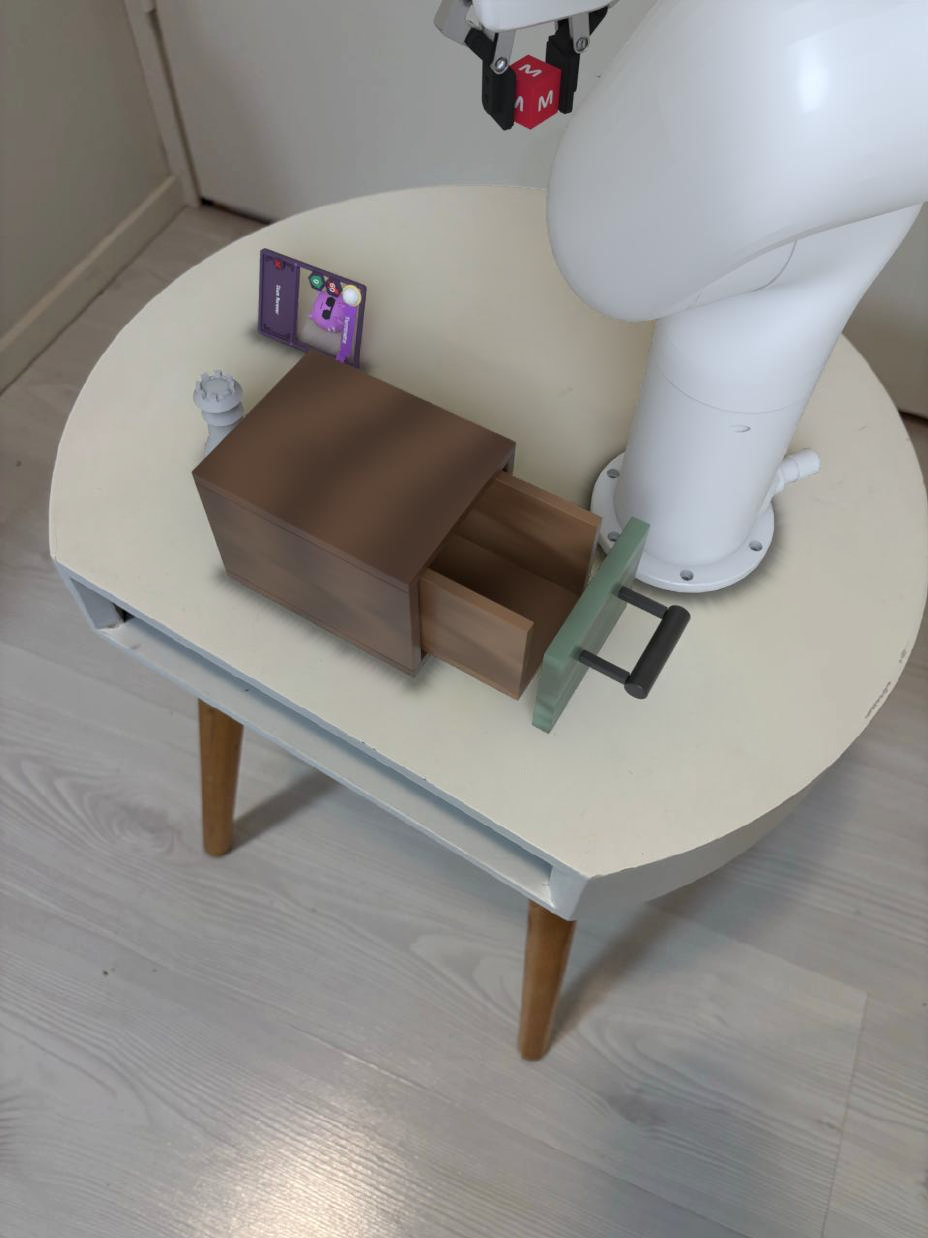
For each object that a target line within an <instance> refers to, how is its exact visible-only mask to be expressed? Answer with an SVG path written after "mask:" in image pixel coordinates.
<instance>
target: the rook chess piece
mask: <svg viewBox="0 0 928 1238" xmlns="http://www.w3.org/2000/svg"><path fill="white" fill-rule="evenodd" d="M213 374H214V375H210V374H208V371H205V372H204V373H201V375H200V379H201V381H200V380H196V381H195V387H194V390H193V395H192V400H193V402H194V406H196V407H197V408H198V409H200V410H201V413H200V415H201V417H202V419H203V420H204V421H205V422H206V423H207V430H208V436H207V438H206V441H205V443H204V449H203V459H204V458H205V457H206V456H207V455H208V454H209V453H210V452H211V451H212V450H213V449H214V448H215V447H216V446H217V445H218V444H219V443H220V442H221V441H222V440H223V439H224V438H225V437H226V436H227V435H228V434H229V433H230V432H231V431H232V429H233V428H234V427H235V426H236V425H237V424H238V423H239V422H240V421H241V420H242V419H243V418H244V415H243V414H244V408H245V407H244V404H243V402H242V401H241V400H242V399H243V394H244V390H243V388H242V385H241V384H240V383H239V381H237V380H236V379H235V378H234V377H233V375H232V374H231V373H229V372H226V373H225V374H224V375H223V371H222V369H213Z"/></svg>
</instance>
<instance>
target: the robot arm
mask: <svg viewBox="0 0 928 1238" xmlns="http://www.w3.org/2000/svg"><path fill="white" fill-rule="evenodd" d="M619 1H620V0H442V1H441V3H440V5H439V7H438V9H437V11H436V13H435V15H434V18H433V25H434V27H435V28H436V29H437V30H438V31H439V32H440V33H441V34H442V35H443V37H446V38H447V39H450V40H451V41H453V42H455V43H456V44H459V45H460V46H464V47H466V48H468V49H469V50H470V51H471V52H472V53H473V54H474V55H475V56H477V57H478V59H480V60H481V66H482V67H481V105H482V108H483V110H484V111H485V113H486V114H487V115H488V116H490V117H491V118H492V120H494V122H495V123H496V124H497V125H498V126H499V127H500V129H501V130H502V131H504V132H505V131H508V130H512V128H513V127H514V125H515V122H514V113H515V92H516V73H515V71H514V70H513V69H512V68H511V67H510V63H511V57H512V53H513V47H514V42H515V37H516V32H517V31H519V30H520V31H521V30H524V29H528V28H532V27H537V26H541V25H544V24H549V23H553V25H554V34H551V35H548V37H547V41H546V45H545V46H546V47H545V58H544V62H546V63H548V64H550V65H552V66H554V67H556V68H559V69H561V79H560V91H559V103H558V112H559V113H560V114H563V115H567V114H568V115H569V114H571V113H572V112H573V114H572V115H571V117H570V119H569V121H568V123H567V124H566V125H565V128H564V130H563V131H562V134H561V136H560V138H559V140H558V143H557V146H556V149H555V150H554V155H553V158H552V161H551V165H550V166H551V167H550V169H549V175H548V181H547V187H546V195H545V196H546V199H545V218H546V219H545V220H546V229H547V236H548V242H549V247H550V249H551V253H552V256H553V259H554V262H555V265H556V266H557V269H558V271H559V273H560V274H561V276H562V278H563V280H564V282H565V283H566V284H567V286H568V287H569V289H571V291H572V292H573V293H574V295H575V296H576V297H577V298H578V299H579V300H580V301H581V302H583V303H584V304H585V305H586V306H587V307H589V308H590V309H592V310H593V311H594V312H596V313H598V314H599V315H602V316H603V317H606V318H609V319H612V320H615V321H620V322H626V323H627V322H628V323H641V322H642V323H643V322H649V321H654V320H655V325H654V329H653V332H652V336H651V339H650V340H651V341H650V345H649V348H648V353H647V357H646V361H645V365H644V370H643V374H642V378H641V382H640V386H639V391H638V395H637V399H636V404H635V407H634V413H633V416H632V420H631V425H630V429H629V432H628V433H629V434H628V438H627V441H626V446H625V450H624V451H623V452H621V453H619V455H617V456H616V457H615V458H613V459H611V461H609V462H608V464H607V465H606V466H605V467H604V468H603V469H602V471H601V472H600V473H599V475H598V477H597V479H596V481H595V483H594V485H593V486H594V487H593V489H592V492H591V493H592V494H591V498H590V505H589V511H590V512H592V513H594V514H596V515H598V516H600V517H602V518H603V520H602V524H601V529H600V533H599V537H598V542H597V543H598V544H599V545H600V547H601V549H602V550H603V552H604V553H605V554H606V555H607V554H608V553H609V551H610V550H611V548H612V547H613V545H614V543H615V542H616V540H617V539H618V537H619V536H620V534H621V532H622V531H623V529H624V528H625V526H626V525H627V523H628V521H629V520H630V518H631V517H632V516H633V517H635V518H637V519H640V520H642V521H644V522H646V523H648V524H650V529H649V532H648V535H647V539H646V542H645V545H644V549H643V552H642V555H641V559H640V562H639V565H638V569H637V572H636V576H635V579H637V580H639V582H640V581H641V582H642V583H644V584H646V585H650V586H652V587H656V588H657V589H661V590H666V591H672V592H676V593H693V594H694V593H695V594H697V593H707V592H714V591H717V590H720V589H724V588H727V587H731V586H732V585H734V584H736V583H737V582H739V581H741V580H743V579H746V578H747V577H748V575H749V574H751V573H752V572H753V571H754V570H756V569H757V567H759V565H760V563H761V562H762V560H763V559H764V557H765V556H766V554H767V552H768V550H769V548H770V546H771V544H772V540H773V537H774V533H775V512H774V509H773V504H772V499H773V497H774V496H776V495H779V494H781V493H782V492H783V490H785V486H786V485H788V484H791V483H796V482H798V481H801V480H804V479H805V478H808V477H811V476H813V475H815V474H818V473H819V472H820V470H821V461H820V457H819V455H818V454H817V452H816V451H815V450H814V449H813V448H811V447H805V448H802V449H799V450H797V451H794V452H792V453H789V454H787V455H786V453H787V451H788V449H789V446H790V444H791V442H792V440H793V438H794V436H795V433H796V431H797V429H798V427H799V424H800V422H801V420H802V418H803V416H804V413H805V411H806V409H807V407H808V404H809V403H810V400H811V398H812V396H813V393H814V391H815V389H816V386H817V385H818V383H819V381H820V379H821V377H822V375H823V373H824V370H825V368H826V366H827V364H828V362H829V360H830V357H831V355H832V353H833V351H834V349H835V347H836V344H837V342H838V341H839V339H840V336H841V335H842V333H843V330H844V329H845V327H846V325H847V323H848V321H849V319H850V318H851V316H852V315H853V313H854V311H855V309H856V308H857V306H858V305H859V303H860V301H861V299H862V298H863V297H864V295H865V294H866V292H867V291H868V290H869V289H870V287H871V285H872V284H873V283H874V282H875V280H876V279H877V277H878V276H879V275H880V273H881V272H882V270H883V269H884V268H885V266H886V265H887V264H888V263H889V261H890V259H891V258H892V257H893V255H894V254H895V253H896V251H897V250H898V248H899V247H900V245H901V244H902V242H903V241H904V239H905V238H906V236H907V235H908V233H909V231H910V229H911V228H912V226H913V225H914V223H915V222H916V219H917V218H918V216H919V213H920V211H922V210H921V209H922V208H923V205H924V203H926V202H928V0H656V2H655V3H654V4H653V5H652V7H651V8H650V9H649V11H648V12H647V14H646V15H645V16H644V17H643V19H641V21H640V23H638V25H637V27H636V28H635V29H634V31H633V32H632V33H631V34H630V36H629V38H628V39H627V40H626V41H625V43H624V44H623V45H622V47H621V48H620V49H619V51H618V52H617V53H616V55H614V57H613V59H612V60H611V62H609V64H608V66H607V67H606V68H605V70H604V71H602V73H601V75H599V78H598V79H597V80H596V81H595V83H594V84H593V85H592V87H591V88H590V89H589V91H588V92H587V94H586V95H585V96H584V97H583V99H582V100H581V102H580V103H579V104H578V106H577V108H576V109H575V111H573V110H574V99H575V93H576V92H577V89H578V83H579V71H580V62H581V54H583V53H585V52H586V51H587V50H588V48H589V46H590V43H591V36H592V35H593V33H594V32H595V31H596V29H597V28H598V27H599V26H600V24H601V23H602V21H604V19H605V18H606V16H607V14H608V12H609V11H608V10H609V9H612V8H613V7H615V6H616V4H617V3H618V2H619ZM471 6H473V10H474V14H475V17H476V19H477V21H478V26H477V25H476V24H475V23H474V22H473V21H471V20H468V19H466V17H467V14H468V12H469V10H470V8H471Z"/></svg>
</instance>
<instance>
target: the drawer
mask: <svg viewBox="0 0 928 1238" xmlns="http://www.w3.org/2000/svg"><path fill="white" fill-rule="evenodd" d="M602 520H603V518H602V517H600V516H598V515H596V514H594V513H592V512H590V510H587V509H585V508H583V507H581V506H579V505H577V504H574V503H572V502H570V501H568V500H567V499H564V498H561V497H559V496H558V495H556V494H553V493H551V492H549V491H547V490H545V489H543V488H540V487H539V486H536V485H534V484H532V483H530V482H527V481H526V480H524V479H521V478H519V477H517V476H515V475H514V474H513V475H511V474H509V473H507V472H504V471H502V470H501V471H500V473H499V474H498V475H497V477H496V478H495V479H494V481H493V482H492V483H491V485H490V486H489V487H488V489H487V490H486V491H485V493H484V494H483V495H482V497H481V498H480V499H479V501H478V502H477V503H476V505H475V506H474V507H473V509H472V510H471V511H470V513H469V514H468V515H467V517H466V518H465V519H464V521H463V522H462V523H461V525H460V526H459V527H458V529H457V530H456V531H455V533H454V534H453V535H452V537H451V538H450V539H449V541H448V542H447V543H446V545H445V546H444V547H443V549H442V550H441V551H440V553H439V554H438V555H437V557H436V558H435V559H434V561H433V562H432V563H431V565H430V566H429V567H428V569H427V570H426V571H425V573H424V574H423V575H422V577H421V578H420V579H419V581H418V582H417V585H418V605H419V625H420V645H421V649H422V650H424V651H426V652H427V653H429V654H431V655H430V656H433V657H435V658H437V659H439V660H441V661H443V662H444V663H446V664H448V665H450V666H451V667H453V668H455V669H457V670H459V671H461V672H463V673H465V674H466V675H468V676H470V677H472V678H474V679H476V680H478V681H480V682H482V683H483V684H485V685H487V686H489V687H491V688H493V689H494V690H497V691H498V692H500V693H502V694H504V695H506V696H507V697H510V698H511V699H513V700H515V701H517V702H518V701H520V699H521V697H522V696H523V694H524V693H525V691H526V689H527V687H528V686H529V685H530V683H531V681H532V680H533V678H534V677H535V675H536V674H537V672H538V671H539V669H540V668H541V670H540V675H539V681H538V687H537V693H536V698H535V703H534V709H533V714H532V720H531V726H533V727H535V729H538V730H540V731H542V732H543V733H545V734H547V735H549V734H550V733H551V732H552V730H553V728H554V727H555V725H556V723H557V721H559V719H560V717H561V715H562V714H563V712H564V710H565V709H566V707H567V706H568V704H569V702H570V701H571V699H572V697H573V695H574V694H575V692H576V691H577V689H578V687H579V685H580V684H581V682H582V680H583V679H584V677H585V676H586V674H587V672H588V670H589V669H592V670H593V671H596V672H598V673H600V674H602V675H603V676H605V677H608V678H609V679H612V680H613V681H615V682H618V683H619V684H621V685H623V688H624V690H625V692H626V693H627V694H628V695H629V696H631V697H632V698H635V699H638V700H645V699H646V698H647V697H648V696H649V694H650V693H651V691H652V689H653V687H654V685H655V684H656V682H657V679H658V678H659V677H660V674H661V673H662V671H663V669H664V667H665V665H666V664H667V662H668V660H669V658H670V656H671V655H672V653H673V651H674V650H675V648H676V646H677V645H678V642H679V640H680V639H681V637H682V635H683V634H684V631H685V630H686V628H687V626H688V624H689V622H690V621H691V616H692V615H691V613H690V612H689V610H687V608H685V607H683V606H681V605H678V604H671V605H670V606H669V607H668V606H666V605H664V604H662V603H660V602H658V601H656V600H653V599H652V598H650V597H649V596H648V597H647V596H645V594H644V595H643V594H641V593H640V592H637V591H635V590H633V589H632V588H633V586H634V583H635V579H636V578H635V576H636V572H637V569H638V565H639V562H640V559H641V555H642V552H643V549H644V545H645V542H646V539H647V535H648V532H649V529H650V524H648V523H646V522H644V521H642V520H640V519H637V518H635V517H633V516H632V517H631V518H630V520H629V521H628V523H627V525H626V526H625V528H624V529H623V531H622V532H621V534H620V536H619V537H618V539H617V540H616V542H615V543H614V545H613V547H612V548H611V550H610V551H609V553H608V554H606V556H605V557H604V559H603V560H602V562H601V564H600V565H599V567H598V569H596V571H595V573H594V575H593V576H592V578H591V579H590V576H591V573H592V567H593V563H594V560H595V559H594V558H595V555H596V550H597V545H598V543H599V542H598V537H599V533H600V529H601V524H602ZM589 580H590V581H589ZM628 604H629V605H632V606H633V607H635V608H638V609H640V610H641V611H643V612H646V613H648V614H650V615H651V616H654V617H656V618H658V619H660V622H659V624H658V625H657V627H656V629H655V631H654V632H653V634H652V636H651V637H650V639H649V640H648V643H647V645H646V646H645V648H644V649H643V651H642V653H641V655H640V656H639V658H638V660H637V662H636V663H635V665H634V666H633V669H632V670H631V672H629V671H628V670H626V669H624V668H621V667H620V666H618V665H616V664H614V663H612V662H610V661H608V660H606V659H604V658H603V657H600V656H598V654H599V652H600V651H601V649H602V648H603V646H604V644H605V642H606V641H607V639H608V638H609V636H610V634H611V633H612V632H613V629H614V628H615V626H616V624H617V623H618V621H619V619H620V618H621V616H622V615H623V613H624V611H625V609H626V608H627V605H628Z"/></svg>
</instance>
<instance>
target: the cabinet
mask: <svg viewBox="0 0 928 1238" xmlns="http://www.w3.org/2000/svg"><path fill="white" fill-rule="evenodd" d="M516 447H517V442H516V441H515V440H512V439H511V438H508V437H506V436H504V435H502V434H499V433H498V432H495V431H494V430H491V429H488V428H487V427H484V426H482V425H480V424H478V423H476V422H473V421H471V420H469V419H467V418H465V417H463V416H460V415H458V414H456V413H454V412H452V411H450V410H447V409H445V408H443V407H441V406H438V405H436V404H435V403H432V402H430V401H427V400H426V399H423V398H421V397H419V396H416V395H414V394H412V393H411V392H408V391H406V390H404V389H402V388H399V387H397V386H396V385H393V384H391V383H389V382H386V381H384V380H382V379H381V378H377V377H375V376H373V375H371V374H369V373H366V372H365V371H362V370H360V369H359V368H358V369H356V368H354V367H352V366H349V365H347V364H345V363H343V362H341V361H338V360H336V359H334V358H332V357H330V356H328V355H325V354H323V353H321V352H319V351H317V350H314V349H312V348H311V349H310V350H309V351H308V352H306V353H305V354H304V355H303V356H302V357H301V358H300V359H299V360H298V361H297V362H296V363H295V364H294V365H293V366H292V367H291V368H290V369H289V371H287V372H286V374H284V375H283V376H282V377H281V378H280V380H279V381H278V382H276V384H275V385H274V386H273V387H272V388H271V389H270V390H269V391H268V392H267V393H266V394H265V395H264V396H263V397H262V398H261V399H260V400H259V401H258V402H257V403H256V404H255V406H253V408H252V409H251V410H250V411H248V413H247V414H246V415H245V416H243V419H242V420H241V421H240V422H239V423H238V424H237V425H236V426H235V427H234V428H233V429H232V431H231V432H230V433H229V434H228V435H227V436H226V437H225V438H224V439H223V440H222V441H221V442H220V443H219V444H218V445H217V446H216V447H215V448H214V449H213V450H212V451H211V452H210V453H209V454H208V455H207V456H206V457H205V458H204V457H203V459H202V460H201V461H200V462H199V463H198V464H197V465H196V467H195V468H194V469H192V471H190V472H191V475H192V479H193V481H194V484H195V487H196V490H197V493H198V496H199V499H200V501H201V505H202V507H203V510H204V512H205V516H206V518H207V521H208V524H209V527H210V530H211V532H212V535H213V538H214V541H215V544H216V547H217V550H218V553H219V556H220V558H221V561H222V564H223V566H224V569H225V572H226V575H227V577H229V578H230V579H232V580H234V581H236V582H238V583H240V584H241V585H244V587H247V588H249V589H251V590H252V591H254V592H256V593H258V594H260V595H262V596H263V597H265V598H267V599H269V600H271V601H273V602H275V603H277V604H278V605H280V606H281V607H284V608H286V609H287V610H289V611H291V612H293V613H295V614H296V615H298V616H300V617H301V618H304V619H305V620H307V621H309V622H311V623H312V624H315V625H316V626H318V627H320V628H321V629H324V630H326V631H327V632H329V633H331V634H333V635H335V636H336V637H338V638H340V639H342V640H344V641H345V642H347V643H349V644H350V645H353V646H354V647H356V648H359V649H360V650H362V651H364V652H366V653H367V654H369V655H371V656H373V657H375V658H376V659H379V660H380V661H382V662H384V663H386V664H387V665H389V666H391V667H393V668H395V669H396V670H398V671H400V672H402V673H404V674H405V675H407V676H409V677H411V678H413V679H415V678H416V677H417V676H418V674H419V672H420V671H421V670H422V668H423V667H424V665H425V664H426V663H427V661H428V660H429V658H430V657H431V656H432V655H431V654H429V653H427V652H426V651H424V650H422V649H421V645H420V625H419V605H418V585H417V582H418V581H419V579H420V578H421V577H422V575H423V574H424V573H425V571H426V570H427V569H428V567H429V566H430V565H431V563H432V562H433V561H434V559H435V558H436V557H437V555H438V554H439V553H440V551H441V550H442V549H443V547H444V546H445V545H446V543H447V542H448V541H449V539H450V538H451V537H452V535H453V534H454V533H455V531H456V530H457V529H458V527H459V526H460V525H461V523H462V522H463V521H464V519H465V518H466V517H467V515H468V514H469V513H470V511H471V510H472V509H473V507H474V506H475V505H476V503H477V502H478V501H479V499H480V498H481V497H482V495H483V494H484V493H485V491H486V490H487V489H488V487H489V486H490V485H491V483H492V482H493V481H494V479H495V478H496V477H497V475H498V474H499V473H500V471H501V470H502V471H504V472H507V473H509V474H511V475H513V476H514V470H515V469H514V468H515V457H516Z"/></svg>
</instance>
